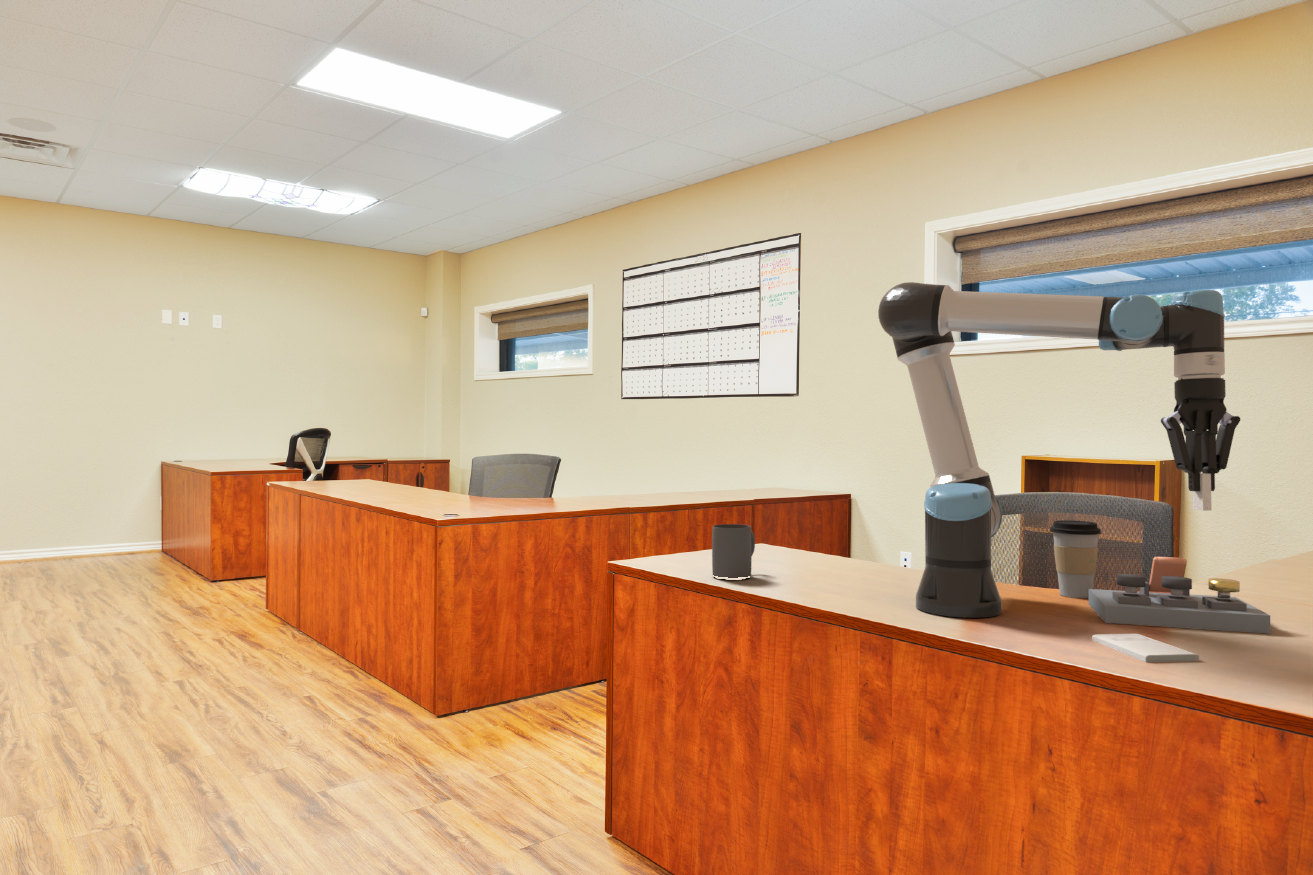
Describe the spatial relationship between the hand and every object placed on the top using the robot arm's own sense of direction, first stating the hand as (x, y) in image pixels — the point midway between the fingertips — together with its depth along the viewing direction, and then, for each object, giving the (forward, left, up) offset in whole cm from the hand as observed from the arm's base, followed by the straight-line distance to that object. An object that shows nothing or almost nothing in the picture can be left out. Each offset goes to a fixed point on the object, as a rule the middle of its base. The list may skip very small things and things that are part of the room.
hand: (1202, 509), depth 141 cm
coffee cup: (-18, +16, -20) cm, 31 cm away
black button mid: (-5, -4, -15) cm, 16 cm away
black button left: (-12, -4, -15) cm, 20 cm away
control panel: (-5, -1, -19) cm, 20 cm away
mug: (-89, +16, -20) cm, 92 cm away
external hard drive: (-15, -27, -20) cm, 37 cm away
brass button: (+2, -4, -15) cm, 15 cm away
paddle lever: (-5, +4, -15) cm, 17 cm away
